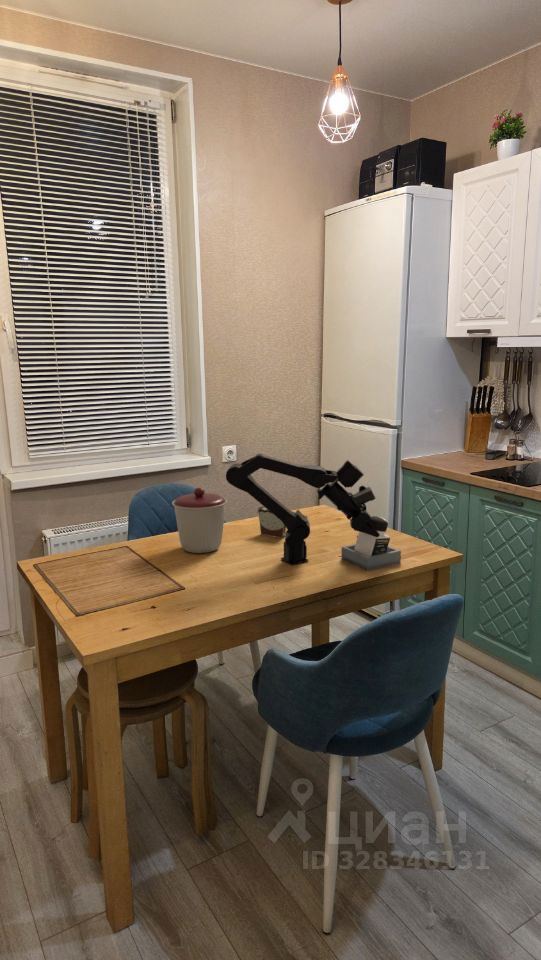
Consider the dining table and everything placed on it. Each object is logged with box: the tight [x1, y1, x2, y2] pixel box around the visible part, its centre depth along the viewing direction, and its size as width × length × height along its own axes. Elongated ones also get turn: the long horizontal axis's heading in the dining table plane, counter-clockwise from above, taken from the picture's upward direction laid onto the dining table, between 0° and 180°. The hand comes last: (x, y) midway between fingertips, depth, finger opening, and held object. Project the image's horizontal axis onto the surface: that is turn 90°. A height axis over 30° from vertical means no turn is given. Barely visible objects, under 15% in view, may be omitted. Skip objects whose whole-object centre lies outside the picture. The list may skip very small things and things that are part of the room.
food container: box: [256, 505, 287, 539], centre depth 223 cm, size 12×6×10 cm, turn 58°
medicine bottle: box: [354, 515, 391, 557], centre depth 192 cm, size 7×7×12 cm
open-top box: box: [341, 543, 402, 571], centre depth 194 cm, size 13×13×4 cm
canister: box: [171, 487, 228, 554], centre depth 206 cm, size 18×18×21 cm
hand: (376, 531), depth 192 cm, fingers closed on medicine bottle, 9 cm apart
